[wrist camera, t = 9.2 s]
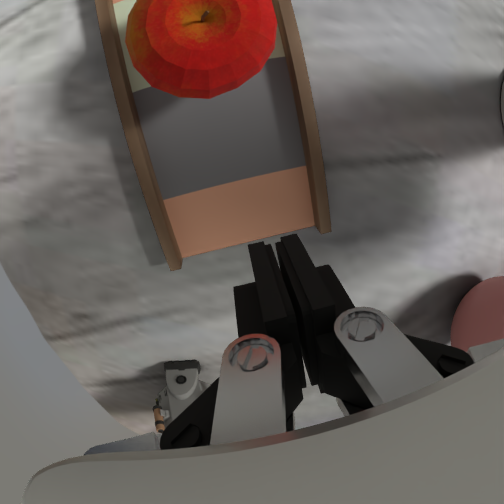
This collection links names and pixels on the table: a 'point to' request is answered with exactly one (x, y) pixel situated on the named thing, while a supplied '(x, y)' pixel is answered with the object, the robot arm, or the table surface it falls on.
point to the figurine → (177, 391)
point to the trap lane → (222, 147)
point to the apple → (200, 43)
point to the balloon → (479, 315)
